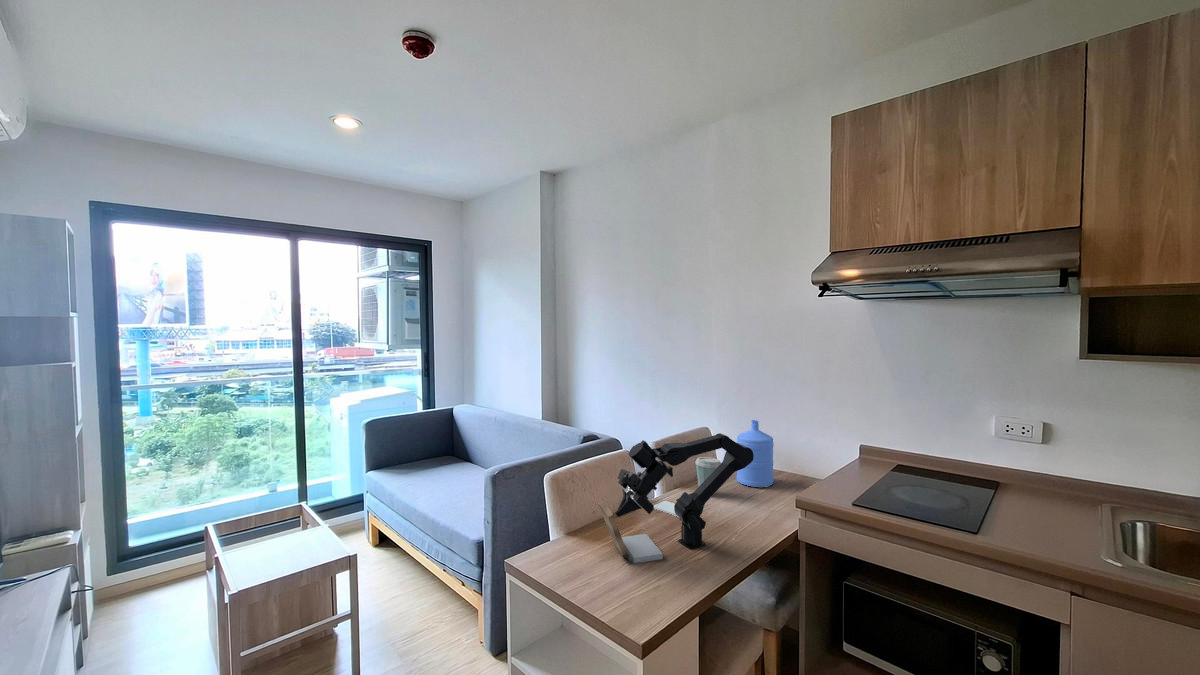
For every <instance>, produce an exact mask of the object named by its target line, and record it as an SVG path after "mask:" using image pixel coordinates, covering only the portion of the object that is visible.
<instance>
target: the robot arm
mask: <svg viewBox="0 0 1200 675" xmlns="http://www.w3.org/2000/svg"><path fill="white" fill-rule="evenodd" d="M720 449H722V450H723V451H725V452H724V455H723V456H724V457H723V460H722V461H721V464H720V465H719V466H718V467H717V468H716V469H715V470H714V471H713V472H712V474H711V475H710V476H709V477H708V478H707V479H706V480H705V481H704V482H703V483H702V484H701V485H700V486H698V487H697V488H696V489H695V490H694V491H693V492H692V493H691V492H690V493H687V492H686V491H684V492H683V493H682V494H681V496H680V497H679V498H677V499H675V500H676V502H675V503H674V504H675V505H674V511H675V514H676V515H677V516H678V517H677V518H679V520H680V521H681V526H680V527H681V529H680V530H681V531H680V532H681V533H680V534H681V536H680V537H681V538H680V539H678V540H677V542H678V543H680V544H681V545H682V546H685V547H686V548H688V549H689V550H693V549H696V548H697V549H698V548H700V547H703V546H705V545H706V544H707V543H706V542H704V541H703V530H704V529H705V527H706V524H707V523H706V521H705V520H704V519H703V518H702V517H701V516H702V514H703V511H704V507H705V505H706V503H707V502H708V501H709V500H710V499H711V498H712V497H713V494H714V493H715V492H718V490H719V489H720V488H721V487H722V486H723V485H724V484H725V483H726V482H727V481H728V480H729V479H730V477H732V476H733V474H735V472H736V473H737V471H739V470H741V469H744V468H745V467H746V466H748V465H749V464H750V463H751V462H752V461H753V459H754V454H753V451H752V450H751V449H750V448H748V447H746V446H744V445H741V444H739V443H737V441H734V440H733V439H732V438H730V437H729V436H728V435H726V434H723V433H716V434H715V435H711V436H706V437H704V438H700V439H696V440H693V441H692V440H691V441H688V442H683V443H682V442H667V443H664V444H663V445H661V446H659V447H656V448H652V447H651V446H650V444H649V443H647V441H646V440H644V439H642V440H641V441H640V442H638V443H636V444H634V445H633V446H631V448H630V449H629V451H628V456H629V458H631V460H632V461H633V462H635V464H637V466H638V467H640V469H644V470H643V471H642V472H641V471H639V472H637V473H634V472H633V471H628V470H626V469H624V468H621V469H620V471H619V474H618V476H617V479H618V484H619V485H620V486H621V487H622V489H621V490H622V499H621V502H620V504H619V506H618V508H617V510H616V512H615V516H616V517H617V518H620V517H622V516H624V515H626V514H629V513H631V512H634V511H637V510H642V509H643V510H644V511H645V512H646V513H647V514H648V515H651V514H652V513H653V512H654V510H655V509H654V505H655V504H653V503H652V502H651V501H650V500H649V497H648V495H649V494H650V493H651V492H652V491H653V490H654V491H657V489H658V487H657V485H658V484H659V483H660V481H661V480H663V478H664V477H665V476H666V475H668V476H670V477H671V478H672V477H674V472H673V470H674V466H675V467H677V466H678V465H680V464H683V463H685V462H686V461H687V460H688V459H690V458H692V457H695V456H698V455H702V454H705V453H709V452H712V451H717V450H720ZM657 459H658V460H660V461H658V460H657ZM666 463H667V464H668V465H667V464H666ZM672 466H673V467H672ZM623 488H624V489H623ZM715 494H716V493H715Z"/></svg>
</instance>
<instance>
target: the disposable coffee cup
mask: <svg viewBox="0 0 1200 675" xmlns="http://www.w3.org/2000/svg"><path fill="white" fill-rule="evenodd" d="M721 463H722V461H720V459H718V458H714V457H710V456H709V457H708V456H700V457H697V458H696V460H695V463H694V464H695V467H696V475H697V485H698V487H699V486H700V485H701V484H702V483H703V482H704V481H705V480H706V479H707V478H708V477H709V476H710V475H711V474H712V472H713V471H714V470H715V469H716V468H717V467H718V466H719V465H720V464H721ZM716 492H717V491H716ZM716 492H715V493H714V494H715V495H716ZM714 494H713V495H714ZM715 495H714V496H715Z"/></svg>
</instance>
